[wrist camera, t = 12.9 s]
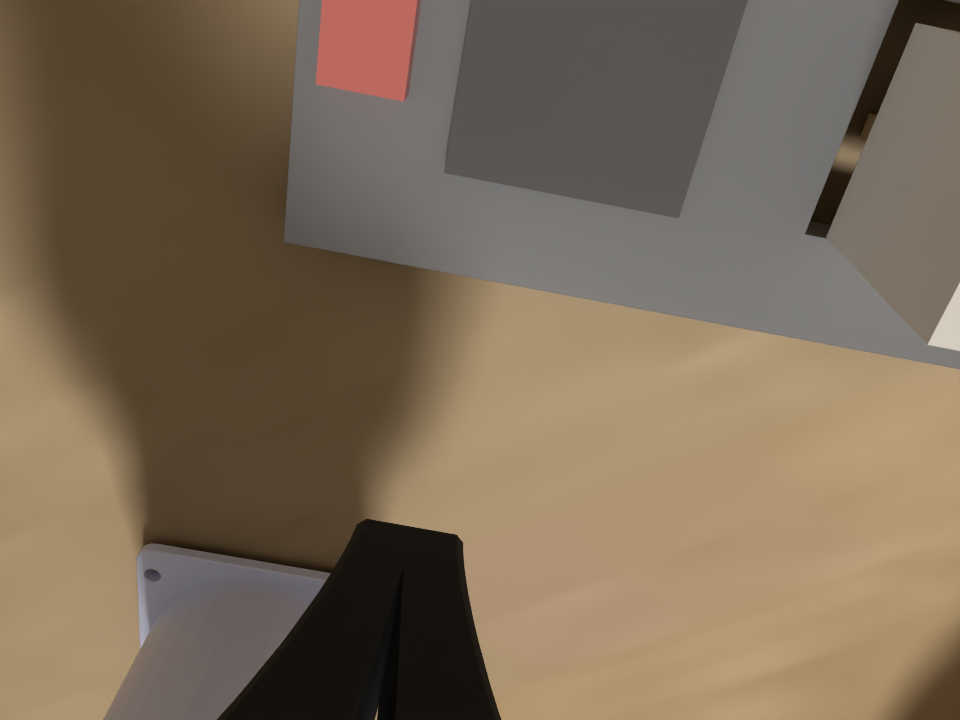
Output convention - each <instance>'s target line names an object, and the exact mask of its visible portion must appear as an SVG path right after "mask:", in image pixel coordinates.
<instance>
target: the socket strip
mask: <svg viewBox="0 0 960 720" xmlns="http://www.w3.org/2000/svg"><path fill="white" fill-rule="evenodd" d="M898 1H899V0H299V14H298V30H297V45H296V60H295V76H294V91H293V107H292V122H291V137H290V153H289V168H288V184H287V199H286V214H285V230H284V242H286V243H291V244H296V245H302V246H307V247H312V248H318V249H323V250H328V251H334V252H339V253H344V254H349V255H355V256H360V257H365V258H371V259H376V260H381V261H387V262H392V263H397V264H403V265H408V266H413V267H419V268H424V269H429V270H435V271H440V272H445V273H451V274H456V275H461V276H467V277H472V278H477V279H482V280H488V281H493V282H498V283H504V284H509V285H514V286H520V287H525V288H530V289H536V290H541V291H546V292H552V293H557V294H562V295H568V296H573V297H578V298H584V299H589V300H594V301H599V302H605V303H610V304H615V305H621V306H626V307H631V308H637V309H642V310H647V311H653V312H658V313H663V314H669V315H674V316H679V317H685V318H690V319H695V320H701V321H706V322H711V323H717V324H722V325H727V326H732V327H738V328H743V329H748V330H754V331H759V332H764V333H770V334H775V335H780V336H786V337H791V338H796V339H802V340H807V341H812V342H818V343H823V344H828V345H834V346H839V347H844V348H849V349H855V350H860V351H865V352H871V353H876V354H881V355H887V356H892V357H897V358H903V359H908V360H913V361H919V362H924V363H929V364H935V365H940V366H945V367H951V368H956V369H960V351H957V350H952V349H946V348H941V347H936V346H931V345H927V344H926V343H925V342H924V341H923V340H922V339H921V338H920V337H919V335H918V334H917V333H916V332H915V331H914V330H913V329H912V328H911V327H910V326H909V325H908V324H907V323H906V322H905V321H904V320H903V319H902V317H901V316H900V315H899V314H898V313H897V312H896V311H895V310H894V309H893V308H892V307H891V306H890V305H889V304H888V303H887V302H886V301H885V299H884V298H883V297H882V296H881V295H880V294H879V293H878V292H877V291H876V290H875V289H874V288H873V287H872V286H871V285H870V284H869V283H868V281H867V280H866V279H865V278H864V277H863V276H862V275H861V274H860V273H859V272H858V271H857V270H856V269H855V268H854V267H853V266H852V265H851V263H850V262H849V261H848V260H847V259H846V258H845V257H844V256H843V255H842V254H841V253H840V252H839V251H838V250H837V249H836V248H835V247H834V246H833V244H832V243H831V242H830V241H829V240H828V239H827V238H826V237H827V234H828V232H829V229H830V227H831V225H829V224H824V223H819V222H813V221H810V220H811V217H812V215H813V212H814V210H815V207H816V205H817V202H818V200H819V197H820V195H821V192H822V190H823V188H824V185H825V183H826V180H827V178H828V175H829V173H830V170H831V168H832V165H833V163H834V160H835V158H836V155H837V153H838V150H839V148H840V145H841V143H842V140H843V138H844V135H845V133H846V130H847V128H848V125H849V123H850V120H851V118H852V115H853V113H854V110H855V108H856V105H857V103H858V100H859V98H860V95H861V93H862V91H863V88H864V86H865V83H866V81H867V78H868V76H869V73H870V71H871V68H872V66H873V63H874V61H875V58H876V56H877V53H878V51H879V48H880V46H881V43H882V41H883V38H884V36H885V33H886V31H887V28H888V26H889V23H890V21H891V18H892V16H893V13H894V11H895V8H896V6H897V3H898ZM944 1H949V2H954V3H959V4H960V0H944Z"/></svg>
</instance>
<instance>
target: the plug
mask: <svg viewBox="0 0 960 720" xmlns="http://www.w3.org/2000/svg"><path fill="white" fill-rule="evenodd" d="M860 136H861V137H863V138H864V139H866V140H867V141H866V143H865V146H864V148H863V150H862V153H861V155H860V158H859V160H858V162H857V165H856V167H855V170H854V172H853V174H852V177H851V179H850V181H849V184H848V186H847V189H846V191H845V193H844V196H843V198H842V201H841V203H840V205H839V208H838V210H837V213H836V215H835V217H834V220H833V222H832V225H831V227H830V229H829V232H828V234H827V237H826V238H827V239H828V240H829V241H830V242H831V243H832V244H833V246H834V247H835V248H836V249H837V250H838V251H839V252H840V253H841V254H842V255H843V256H844V257H845V258H846V259H847V260H848V261H849V262H850V263H851V265H852V266H853V267H854V268H855V269H856V270H857V271H858V272H859V273H860V274H861V275H862V276H863V277H864V278H865V279H866V280H867V281H868V283H869V284H870V285H871V286H872V287H873V288H874V289H875V290H876V291H877V292H878V293H879V294H880V295H881V296H882V297H883V298H884V299H885V301H886V302H887V303H888V304H889V305H890V306H891V307H892V308H893V309H894V310H895V311H896V312H897V313H898V314H899V315H900V316H901V317H902V319H903V320H904V321H905V322H906V323H907V324H908V325H909V326H910V327H911V328H912V329H913V330H914V331H915V332H916V333H917V334H918V335H919V337H920V338H921V339H922V340H923V341H924V342H925V343H926V344H927V345H931V346H936V347H941V348H946V349H952V350H957V351H960V32H958V31H953V30H948V29H943V28H939V27H934V26H929V25H924V24H919V23H915V26H914V28H913V31H912V33H911V35H910V38H909V40H908V43H907V45H906V47H905V50H904V52H903V55H902V57H901V59H900V62H899V64H898V67H897V69H896V71H895V74H894V76H893V79H892V81H891V83H890V86H889V88H888V90H887V93H886V95H885V98H884V100H883V102H882V105H881V107H880V110H879V112H878V114H877V115H875V114H870V113H869V116H868V118H867V121H866V123H865V125H864V128H863V130H862V133H861V135H860Z"/></svg>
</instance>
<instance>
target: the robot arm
mask: <svg viewBox="0 0 960 720" xmlns="http://www.w3.org/2000/svg"><path fill="white" fill-rule="evenodd" d="M152 569H153V570H156V571H158V572H159V573H157V572H155V571H153V570H152ZM137 586H138V611H139V637H140V651H139V653H138V655H137V657H136V658H135V660H134V662H133V664H132V666H131V668H130V670H129V672H128V674H127V675H126V677H125V679H124V681H123V683H122V685H121V687H120V689H119V691H118V693H117V694H116V696H115V698H114V700H113V702H112V704H111V706H110V708H109V710H108V712H107V713H106V715H105V717H104V719H103V720H375V716H376V713H377V709H378V717H377V720H501V717H500V715H499V712H498V709H497V705H496V702H495V699H494V696H493V692H492V689H491V686H490V682H489V679H488V675H487V671H486V668H485V664H484V660H483V657H482V653H481V649H480V645H479V642H478V638H477V633H476V629H475V625H474V621H473V616H472V611H471V606H470V600H469V595H468V589H467V583H466V576H465V569H464V558H463V542H462V541H461V540H460V538H459V537H458V536H457V535H455V534H449V533H443V532H438V531H432V530H427V529H421V528H415V527H410V526H404V525H398V524H393V523H387V522H381V521H376V520H370V519H366V520H364V521H362V522H360V523H358V524H357V526H356V528H355V531H354V533H353V535H352V537H351V539H350V541H349V543H348V545H347V547H346V549H345V551H344V552H343V554H342V556H341V558H340V559H339V561H338V563H337V564H336V566H335V567H334V569H333V571H332V572H331V573H326V572H321V571H315V570H309V569H303V568H297V567H291V566H285V565H279V564H274V563H268V562H262V561H256V560H250V559H244V558H238V557H232V556H226V555H221V554H215V553H209V552H203V551H197V550H191V549H185V548H179V547H174V546H168V545H162V544H151V543H150V544H147V545H145V546H144V547H143V548H142V549H141V551H140V552H139V554H138V556H137ZM378 706H379V707H378Z"/></svg>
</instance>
